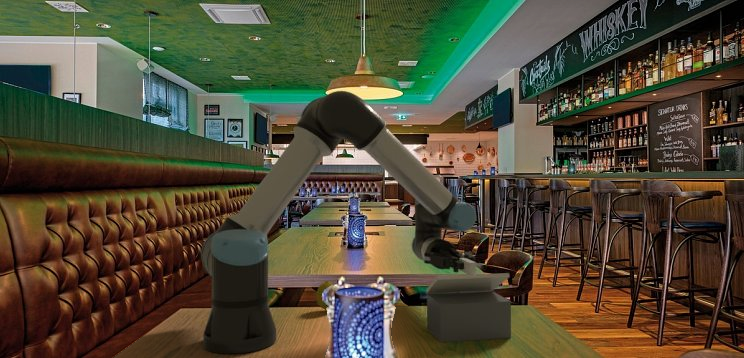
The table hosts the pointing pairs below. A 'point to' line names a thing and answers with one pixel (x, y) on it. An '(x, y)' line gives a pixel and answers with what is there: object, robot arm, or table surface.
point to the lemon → (319, 293)
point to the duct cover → (466, 283)
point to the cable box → (468, 316)
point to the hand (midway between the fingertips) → (472, 268)
